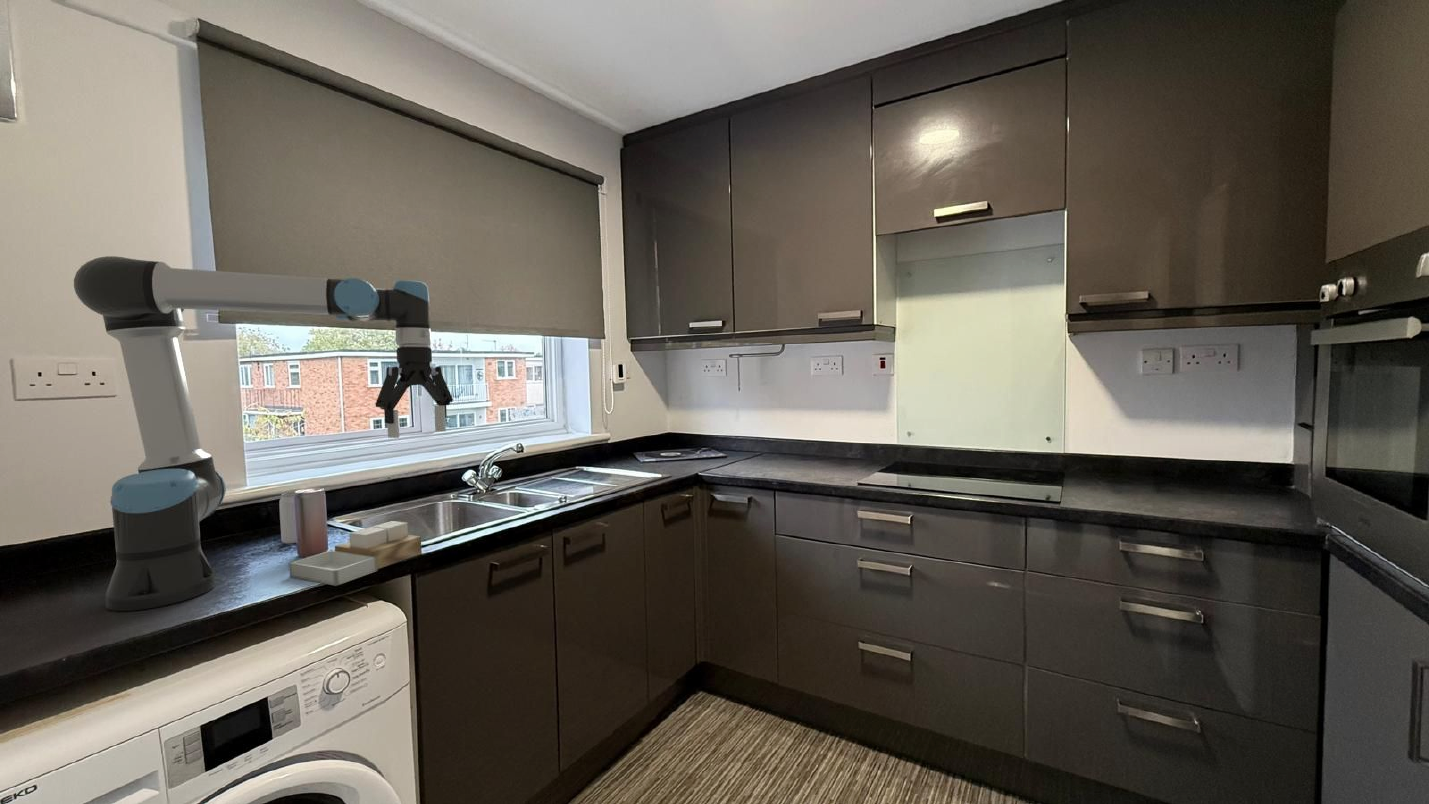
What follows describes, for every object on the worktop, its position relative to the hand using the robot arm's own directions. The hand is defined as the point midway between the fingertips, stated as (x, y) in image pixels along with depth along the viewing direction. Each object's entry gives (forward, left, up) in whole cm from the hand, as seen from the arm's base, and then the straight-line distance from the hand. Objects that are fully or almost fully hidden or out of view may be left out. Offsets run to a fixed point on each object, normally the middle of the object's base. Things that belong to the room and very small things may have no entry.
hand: (418, 434), depth 142 cm
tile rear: (-9, -1, -23) cm, 25 cm away
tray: (-23, -1, -27) cm, 35 cm away
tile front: (-15, -1, -23) cm, 27 cm away
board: (-12, -1, -27) cm, 29 cm away
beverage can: (-15, +17, -27) cm, 36 cm away
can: (-9, +32, -27) cm, 43 cm away
